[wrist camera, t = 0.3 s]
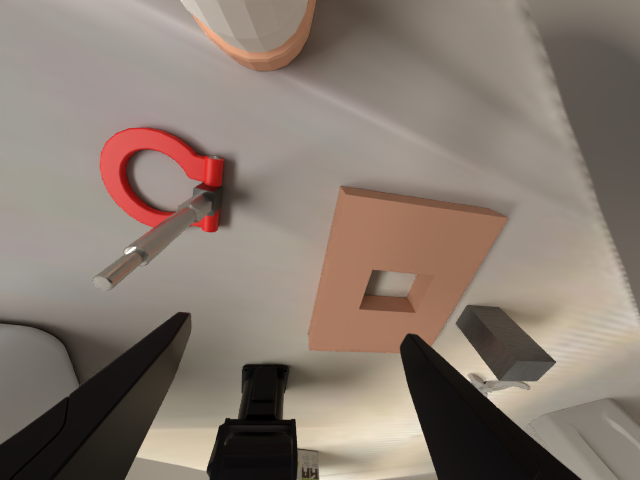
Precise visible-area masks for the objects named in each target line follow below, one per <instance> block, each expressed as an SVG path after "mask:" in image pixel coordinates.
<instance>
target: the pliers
mask: <svg viewBox="0 0 640 480" xmlns="http://www.w3.org/2000/svg"><path fill="white" fill-rule="evenodd" d="M468 377H469V378H470V380H471V381H472V382H473V383H471V384H472V385H473V386H474V387H476V388H477V389H478V390H479V391H480V392H481V393H482V394H484V396H485V397H487V393H486V392H492V391H497V390H502V389H506V388H508V387H512V386H514V387H520V388H524V389H527V390H529V389H530V388H529V387H528V386H527V385H526V384H525V383H523V382H520V381H499V380H498V381H490V382H487V381H486V384H484V383H483V381H482V380H481V379H480V378H478V377H476V376H474V375H473V374H471V373H470V374H468ZM500 386H501V387H500ZM494 387H497V388H494Z"/></svg>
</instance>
